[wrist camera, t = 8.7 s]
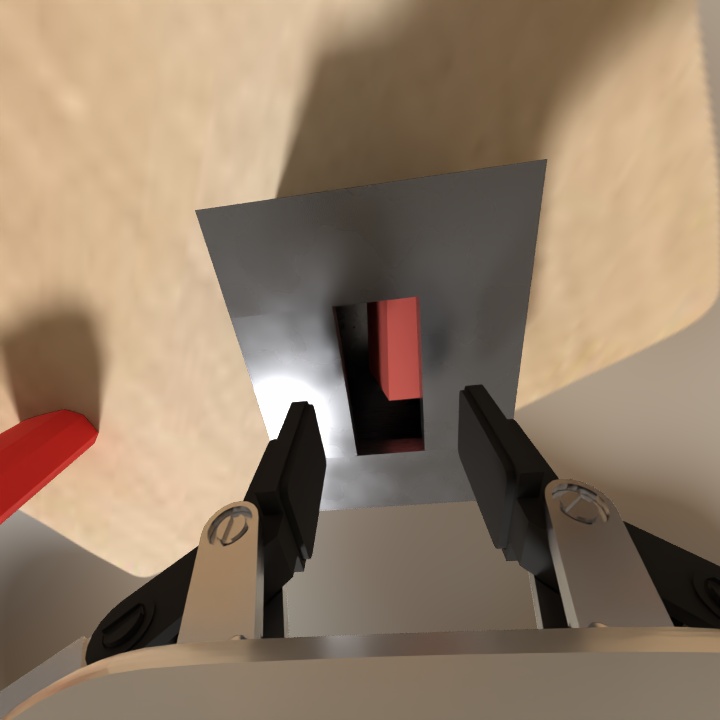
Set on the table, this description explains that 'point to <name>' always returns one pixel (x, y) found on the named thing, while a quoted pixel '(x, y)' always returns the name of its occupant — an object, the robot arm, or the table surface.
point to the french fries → (39, 454)
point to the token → (394, 347)
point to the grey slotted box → (379, 283)
